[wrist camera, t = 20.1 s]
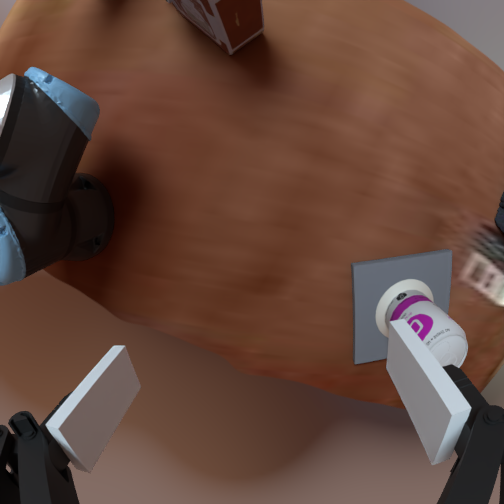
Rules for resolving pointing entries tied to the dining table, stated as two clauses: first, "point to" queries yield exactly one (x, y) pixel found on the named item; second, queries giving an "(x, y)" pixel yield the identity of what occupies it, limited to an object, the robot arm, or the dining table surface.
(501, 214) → the crumpled black cloth
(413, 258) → the board
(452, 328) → the supplement can
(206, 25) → the cine camera
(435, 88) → the dining table surface
